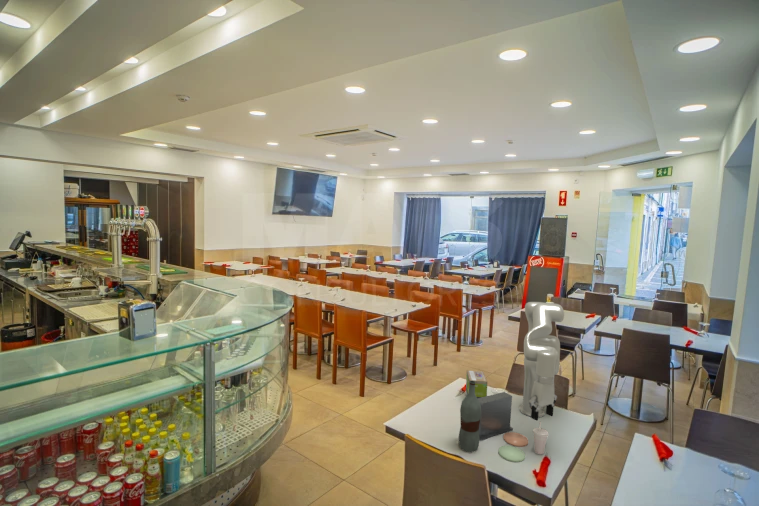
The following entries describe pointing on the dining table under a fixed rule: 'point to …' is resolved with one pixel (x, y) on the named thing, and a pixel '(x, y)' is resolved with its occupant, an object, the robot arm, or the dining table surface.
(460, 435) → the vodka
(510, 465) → the dining table surface
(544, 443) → the smoothie
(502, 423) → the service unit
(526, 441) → the terracotta coaster
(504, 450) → the sage coaster
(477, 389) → the tea box
